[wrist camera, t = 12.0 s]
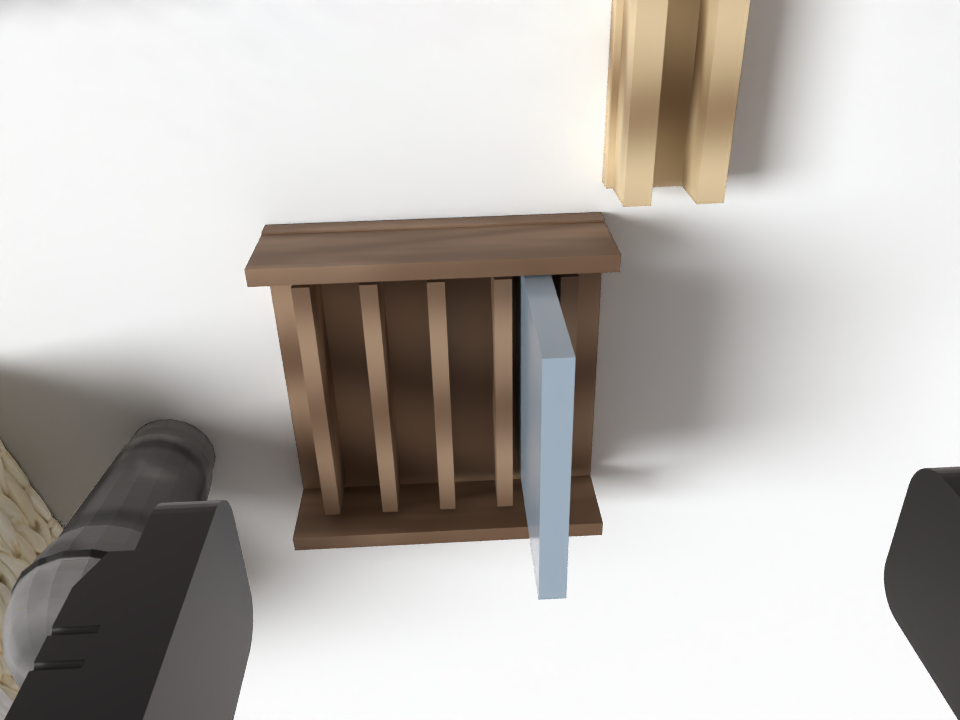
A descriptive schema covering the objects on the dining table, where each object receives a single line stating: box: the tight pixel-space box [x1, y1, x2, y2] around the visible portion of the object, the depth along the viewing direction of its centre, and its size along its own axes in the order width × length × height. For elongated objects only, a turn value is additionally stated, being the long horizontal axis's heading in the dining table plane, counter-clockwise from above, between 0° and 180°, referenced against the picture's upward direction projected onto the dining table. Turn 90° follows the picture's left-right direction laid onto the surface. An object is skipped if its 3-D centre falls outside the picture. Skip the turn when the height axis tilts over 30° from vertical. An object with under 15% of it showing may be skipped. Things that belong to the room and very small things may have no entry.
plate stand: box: [602, 0, 750, 207], centre depth 35 cm, size 9×5×4 cm, turn 1°
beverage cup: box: [3, 420, 215, 688], centre depth 37 cm, size 7×7×20 cm
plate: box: [516, 275, 576, 600], centre depth 37 cm, size 12×1×11 cm, turn 1°
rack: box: [245, 212, 621, 550], centre depth 41 cm, size 16×16×5 cm
